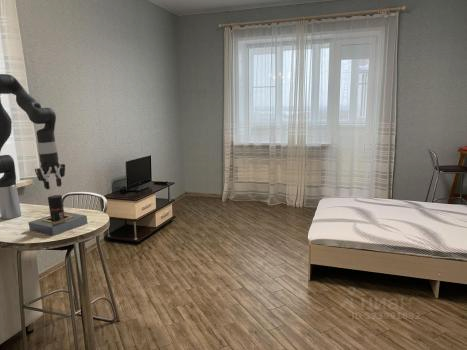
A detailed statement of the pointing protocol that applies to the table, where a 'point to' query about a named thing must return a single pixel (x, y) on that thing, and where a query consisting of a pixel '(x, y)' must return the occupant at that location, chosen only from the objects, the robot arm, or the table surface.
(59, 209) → the deodorant
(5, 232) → the table surface
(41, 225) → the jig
